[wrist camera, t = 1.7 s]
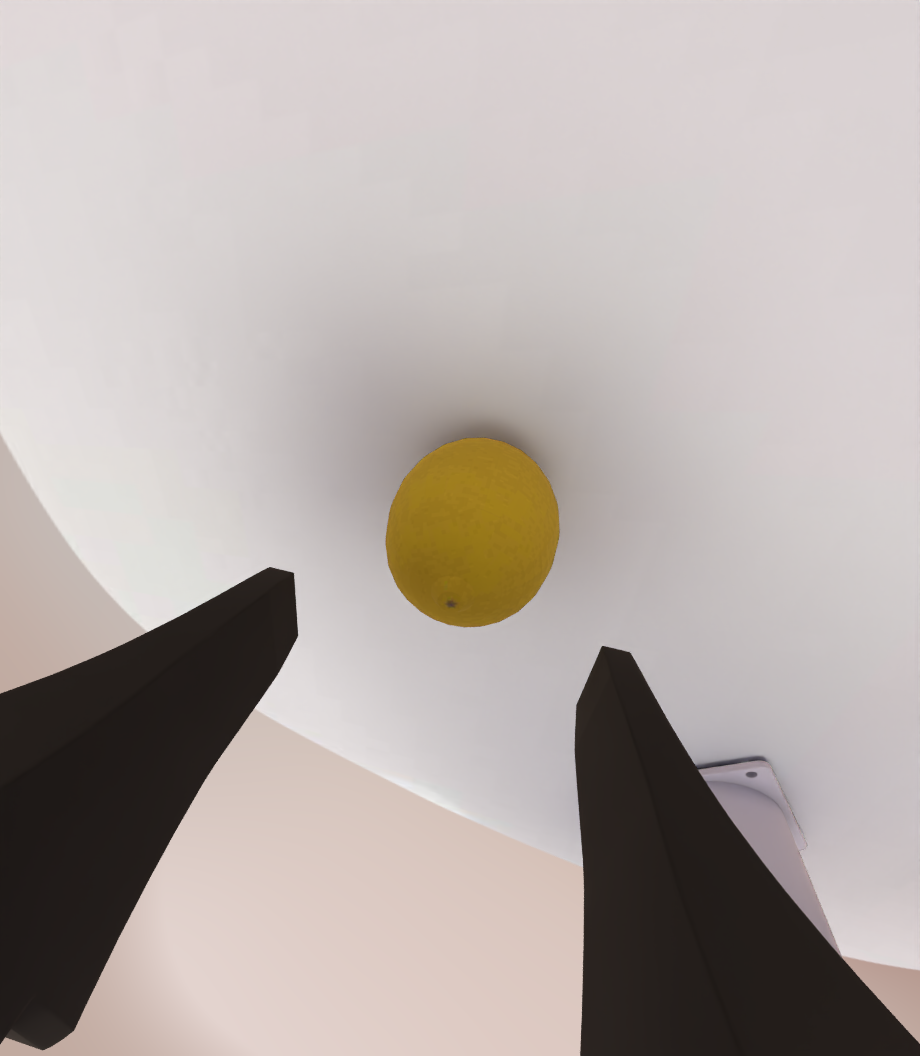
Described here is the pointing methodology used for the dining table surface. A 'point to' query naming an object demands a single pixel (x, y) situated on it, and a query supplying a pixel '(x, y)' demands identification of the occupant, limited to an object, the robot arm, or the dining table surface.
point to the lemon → (472, 532)
